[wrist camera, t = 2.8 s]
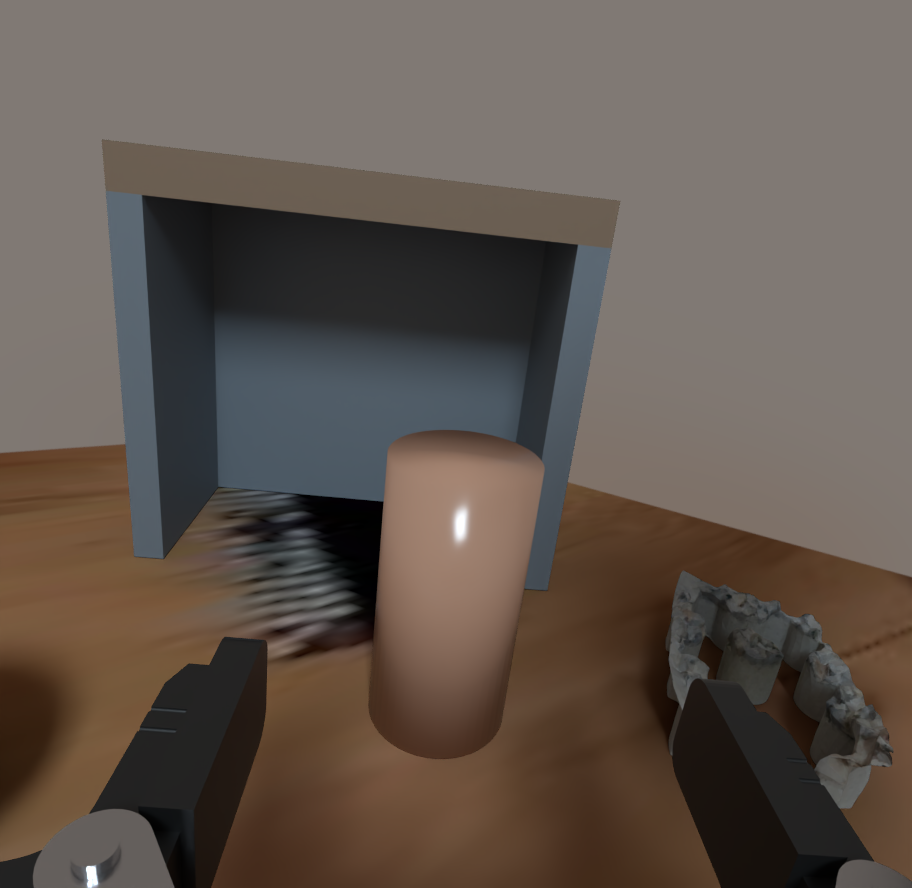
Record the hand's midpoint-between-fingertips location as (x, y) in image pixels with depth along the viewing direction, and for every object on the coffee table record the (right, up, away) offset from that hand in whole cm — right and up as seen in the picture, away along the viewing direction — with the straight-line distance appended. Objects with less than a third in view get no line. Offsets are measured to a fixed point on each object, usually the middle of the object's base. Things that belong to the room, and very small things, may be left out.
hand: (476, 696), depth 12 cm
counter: (-6, 0, +27) cm, 28 cm away
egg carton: (+12, -7, +16) cm, 22 cm away
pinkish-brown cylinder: (-1, -6, +15) cm, 16 cm away
